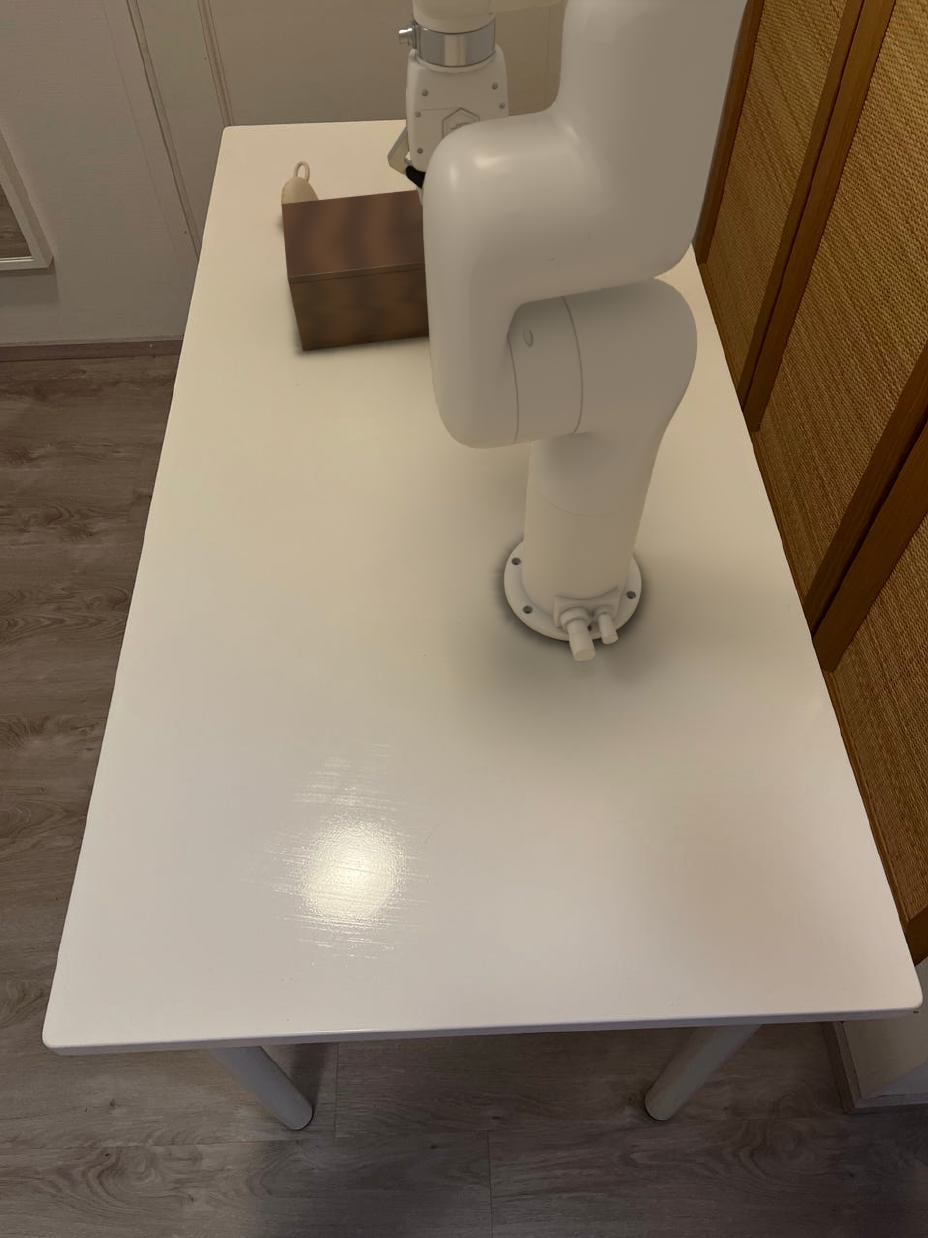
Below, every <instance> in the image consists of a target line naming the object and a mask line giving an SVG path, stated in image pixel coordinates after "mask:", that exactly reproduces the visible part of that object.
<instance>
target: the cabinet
mask: <svg viewBox="0 0 928 1238" xmlns="http://www.w3.org/2000/svg"><path fill="white" fill-rule="evenodd" d="M281 214H282V215H281V216H282V228H283V230H282V231H283V240H284V241H283V242H284V253H285V254H284V255H285V264H286V265H285V267H286V278H287V282H288V288H289V292H290V297H291V301H292V307H293V311H294V316H295V320H296V325H297V329H298V335H299V339H300V344H301V349H302V351H309V350H319V349H328V348H336V347H345V346H352V345H353V346H354V345H362V344H370V343H378V342H387V341H395V340H404V339H411V338H413V339H414V338H419V337H420V338H421V337H428V336H429V320H428V304H427V287H426V271H425V254H424V238H423V211H422V206H421V202H420V198H419V193H418V190H417V189H410V190H401V191H393V192H392V191H391V192H383V193H373V194H362V195H354V196H353V195H352V196H346V197H345V196H344V197H335V198H325V199H318V200H315V201H306V202H296V203H287V204H282V206H281Z"/></svg>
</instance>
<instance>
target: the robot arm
mask: <svg viewBox="0 0 928 1238" xmlns="http://www.w3.org/2000/svg"><path fill="white" fill-rule="evenodd" d="M562 1H563V0H412V13H411V15H412V20H410V21H409V22H410V24H408V25H406V26H405V27H398V40H399V45H400V46H404V45H407V47H409V46H410V47H412V48H411V49H410V51H409V54H408V59H407V69H406V81H405V84H406V85H405V126H404V128H403V130H402V131H401V133H400V134H399V136H398V138H397V139H396V140H395V142H394V144H393V145H392V147H391V148H390V150H389V152H388V154H387V158H386V159H387V164H388V166H389V167H390V168H391V169H393V170H395V171H396V172H398V173H400V174H401V175H404V176H405V177H406V178H407V179H408V180H409V181H410V182H411V183H413V184H414V185H415V186H416V185H417V186H418V187H419V188H420V189H421V190H422V192H423V238H424V254H425V271H426V287H427V304H428V320H429V349H430V350H429V351H430V367H431V377H432V378H431V380H432V386H433V393H434V399H435V403H436V407H437V411H438V414H439V417H440V420H441V422H442V424H443V426H444V428H445V430H446V431H447V433H448V434H449V435H450V437H452V438H453V439H454V440H455V441H456V442H458V443H459V444H461V445H463V446H465V447H467V448H471V449H481V450H483V449H494V448H495V449H496V448H502V447H508V446H514V445H520V444H526V443H530V442H531V445H530V450H529V456H528V457H529V458H528V467H527V480H526V481H527V483H526V496H525V497H526V498H525V513H524V527H523V540H522V541H520V543H518V544H517V546H516V547H515V548H514V549H513V551H512V552H511V553H510V555H509V556H508V559H507V560H506V565H505V569H504V572H503V573H504V574H503V575H504V576H503V585H504V594H505V597H506V600H507V602H508V605H509V607H510V608H511V609H512V611H513V613H514V614H515V615H516V617H518V619H519V620H520V621H521V622H522V623H524V624H525V625H526V626H528V627H529V628H531V629H532V630H533V631H535V632H537V633H538V634H541V635H543V636H546V637H548V638H552V639H554V640H559V641H567V642H569V646H570V648H571V649H570V650H571V653H572V657H573V659H574V660H575V661H576V662H587V661H589V660H592V659H593V658H594V657H595V656H596V655H597V651H596V650H595V645H594V642H593V640H597V639H600V638H601V641H602V643H603V644H605V645H610V644H614V643H615V642H617V640H618V639H619V636H618V633H617V630H619V629H620V628H621V627H622V626H624V625H625V624H626V623H627V622H628V621H630V618H631V617H632V615H633V614H634V613H635V611H636V609H637V606H638V604H639V602H640V597H641V594H642V583H643V582H642V581H643V580H642V575H641V570H640V567H639V565H638V563H637V560H636V559H635V557H634V556H633V554H634V549H635V545H636V541H637V537H638V533H639V529H640V525H641V520H642V516H643V512H644V510H645V509H644V508H645V504H646V499H647V495H648V491H649V487H650V484H651V481H652V476H653V473H654V468H655V464H656V461H657V457H658V453H659V450H660V447H661V444H662V440H663V438H664V436H665V433H666V432H667V429H668V426H669V424H670V423H671V421H672V420H673V417H674V415H675V413H676V412H677V410H678V409H679V406H680V405H681V403H682V401H683V399H684V396H685V394H686V393H687V390H688V388H689V385H690V382H691V380H692V376H693V373H694V369H695V366H696V361H697V355H698V353H697V352H698V330H697V324H696V321H695V316H694V313H693V311H692V309H691V307H690V305H689V303H688V301H687V300H686V298H685V297H684V296H683V294H682V293H681V292H680V291H679V290H678V289H677V288H675V287H674V286H673V285H671V284H669V283H668V282H666V281H665V280H662V279H659V278H656V277H658V276H661V275H663V274H665V273H667V272H669V271H671V270H672V269H673V268H675V267H676V266H677V265H678V264H680V262H681V261H682V260H683V258H684V257H685V255H686V253H687V252H688V250H689V249H690V246H691V244H692V241H693V239H694V237H695V234H696V231H697V227H698V224H699V220H700V217H701V212H702V207H703V204H704V199H705V195H706V194H705V193H706V191H707V190H706V189H707V184H708V179H709V174H710V170H711V165H712V160H713V156H714V151H715V147H716V143H717V142H716V141H717V136H718V132H719V127H720V124H721V123H720V121H721V117H722V112H723V107H724V103H725V97H726V93H727V88H728V84H729V80H730V73H731V68H732V63H733V57H734V51H735V48H736V47H735V46H736V43H737V42H736V41H737V38H738V35H739V31H740V26H741V23H742V19H743V15H744V12H745V9H746V5H747V2H748V0H567V2H566V6H565V10H564V17H563V23H562V24H563V25H562V39H561V40H562V41H561V60H560V61H561V64H560V76H559V87H558V91H557V96H556V98H555V100H554V101H553V102H552V104H551V105H550V106H549V107H547V108H545V109H544V110H542V111H537V112H532V113H525V114H517V115H510V107H509V106H510V105H509V104H510V103H509V88H508V76H507V66H506V61H505V56H504V52H503V50H502V48H501V47H500V46H499V44H497V43H496V13H502V12H511V11H518V10H529V9H538V8H544V7H550V6H553V5H556V4H559V3H561V2H562ZM408 154H409V158H410V159H409V158H408V157H407V155H408Z"/></svg>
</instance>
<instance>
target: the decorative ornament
mask: <svg viewBox="0 0 928 1238" xmlns="http://www.w3.org/2000/svg"><path fill="white" fill-rule="evenodd" d="M302 166H303V167H304V171H305V173H304V177H302V176H301V177H300V176H298V175H299V169H300V168H301V167H302ZM310 178H311V171H310V166H309V164H308V162H306V161H305V160H300V161H299V162H297V163H296V165H295V166H294V168H293V172H292V177H291V178H289V180H287V181H286V182H285V183H284V186H283V187H282V190H281V196H280V206H281V207H282V204H287V203H296V202H306V201H315V200H319V197H318V195H317V193H316V191H315V190H314V188H313V186H312V184H310V182H309V181H310Z"/></svg>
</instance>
